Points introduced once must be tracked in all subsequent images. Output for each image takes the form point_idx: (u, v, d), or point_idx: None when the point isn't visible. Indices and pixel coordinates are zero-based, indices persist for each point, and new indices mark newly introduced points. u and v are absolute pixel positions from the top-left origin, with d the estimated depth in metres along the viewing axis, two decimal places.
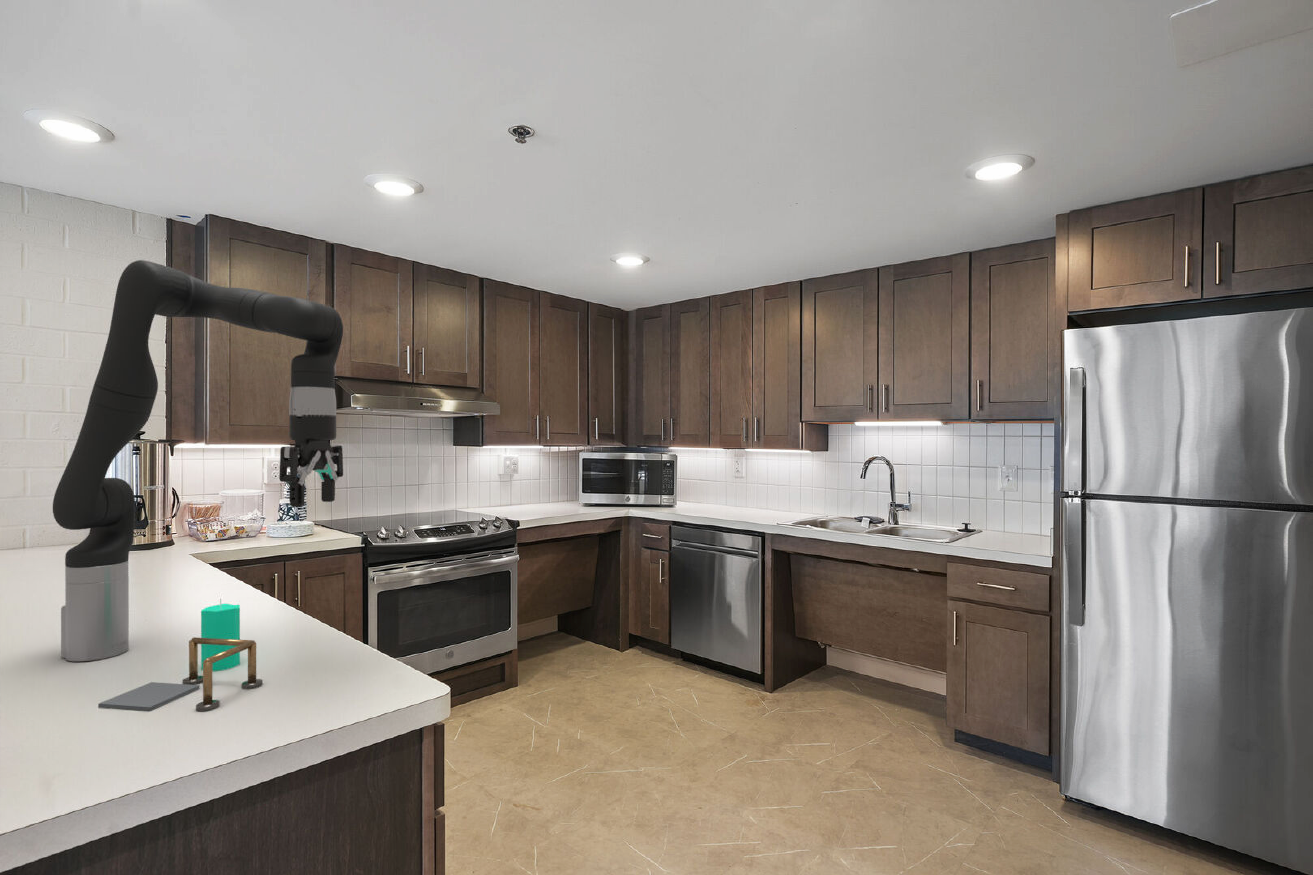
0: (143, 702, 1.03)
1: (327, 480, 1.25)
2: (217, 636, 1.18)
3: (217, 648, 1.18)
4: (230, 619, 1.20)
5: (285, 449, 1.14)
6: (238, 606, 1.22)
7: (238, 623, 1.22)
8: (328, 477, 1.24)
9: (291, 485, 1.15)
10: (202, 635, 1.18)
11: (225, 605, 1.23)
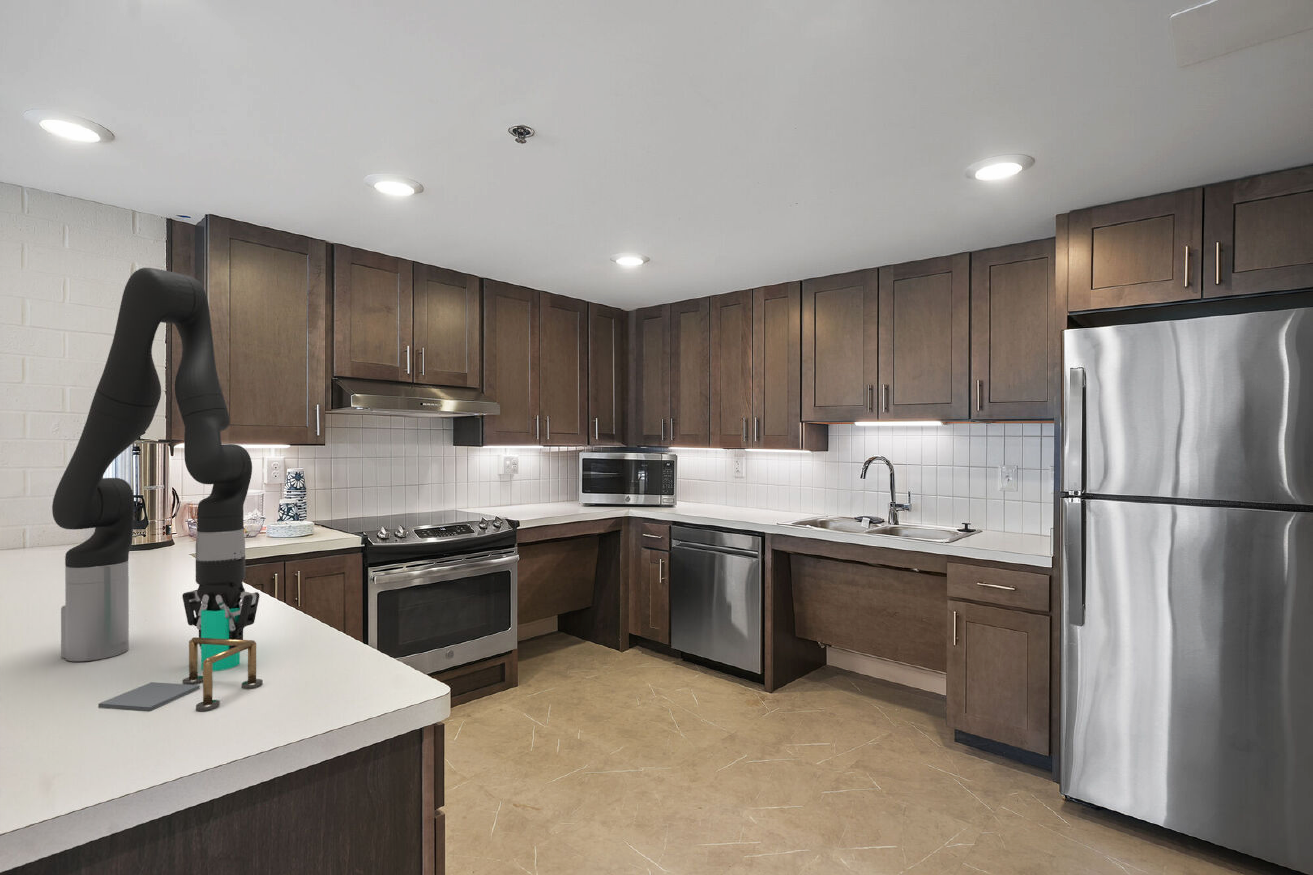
0: (143, 702, 1.03)
1: None
2: (217, 636, 1.18)
3: (217, 648, 1.18)
4: None
5: (253, 597, 1.20)
6: None
7: None
8: None
9: (239, 630, 1.20)
10: (202, 635, 1.18)
11: None
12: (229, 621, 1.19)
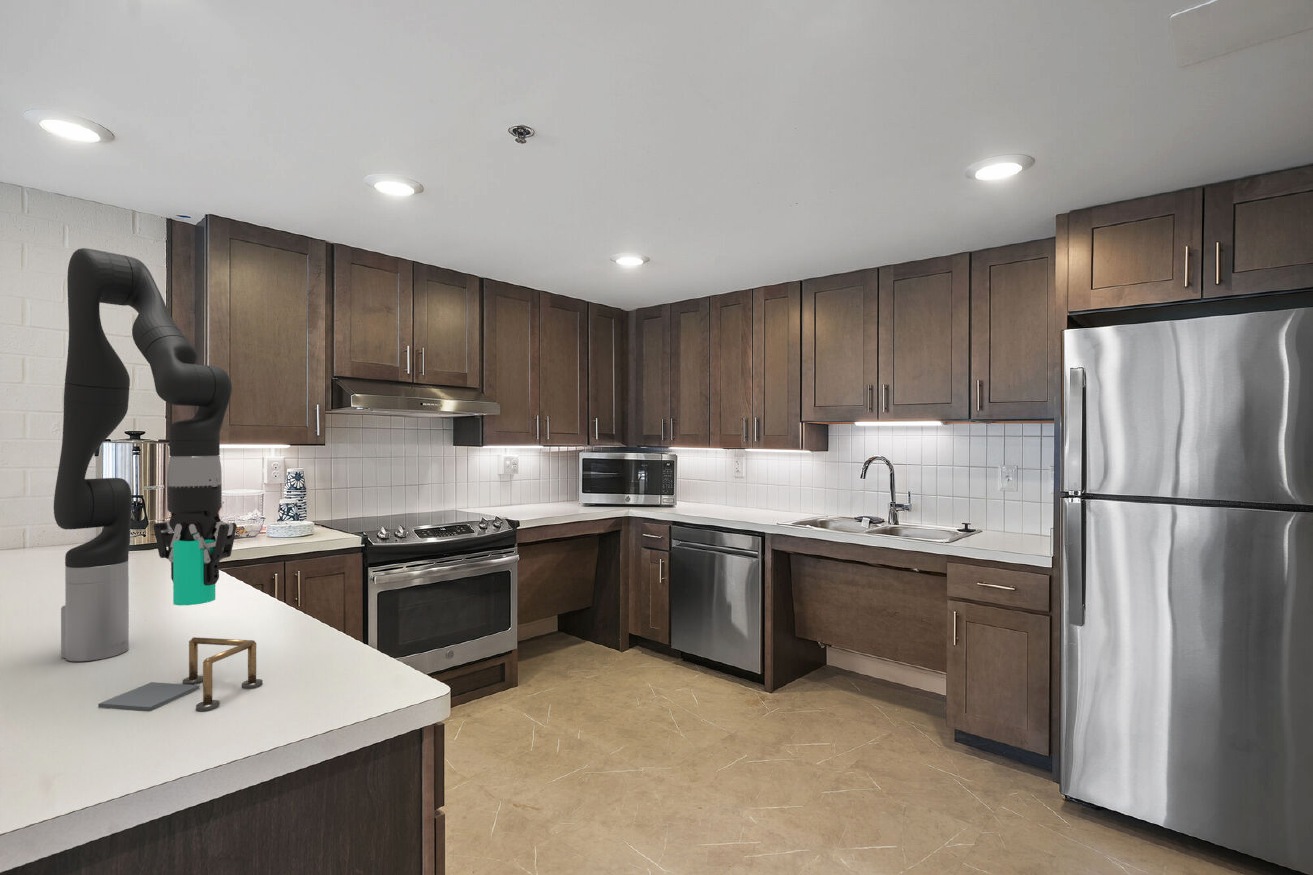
0: (143, 702, 1.03)
1: None
2: (190, 568, 1.10)
3: (191, 581, 1.10)
4: None
5: (229, 527, 1.12)
6: None
7: None
8: None
9: (215, 562, 1.12)
10: (174, 567, 1.11)
11: None
12: (204, 552, 1.11)
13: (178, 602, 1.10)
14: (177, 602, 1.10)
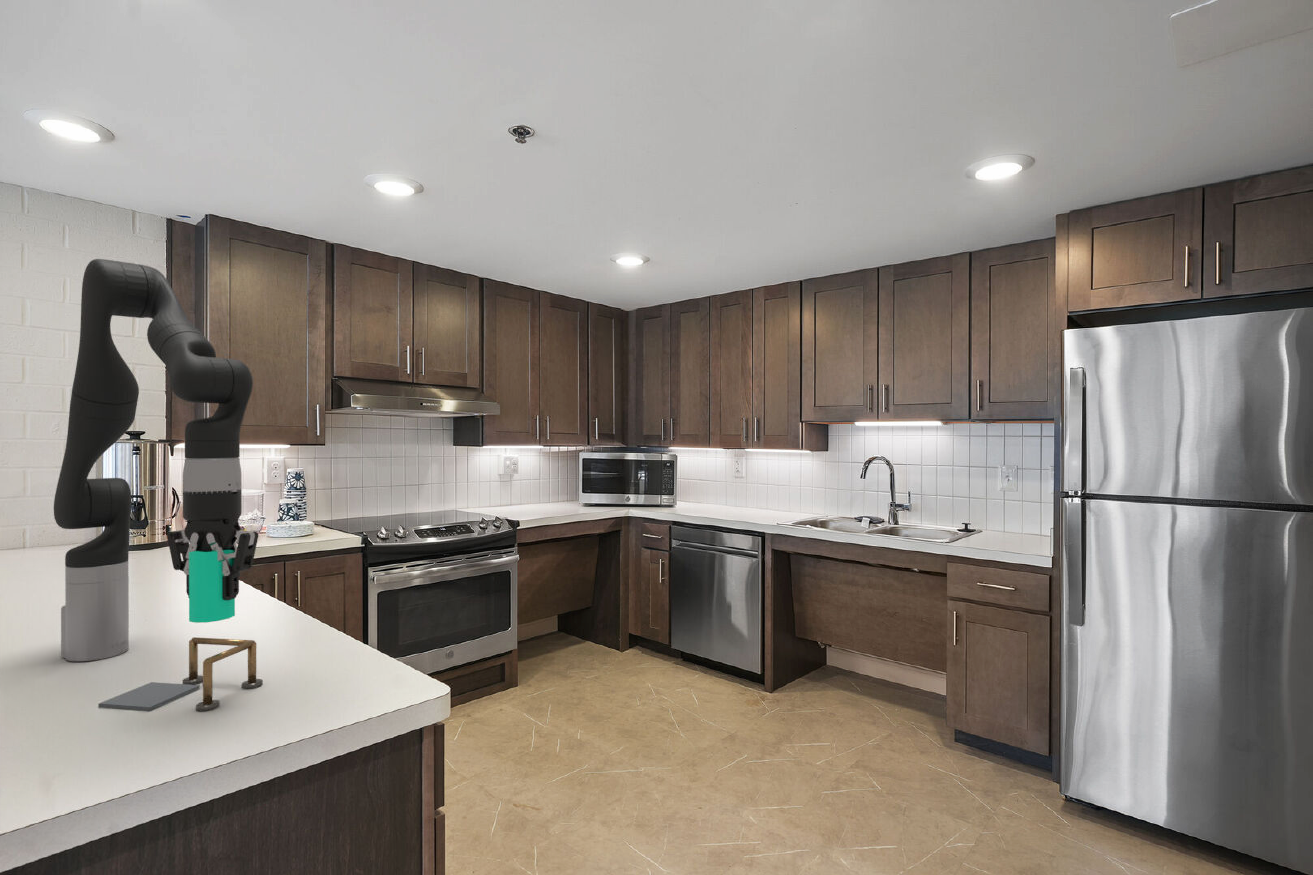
0: (143, 702, 1.03)
1: None
2: (208, 582, 1.00)
3: (208, 596, 1.00)
4: None
5: (250, 536, 1.02)
6: None
7: None
8: None
9: (234, 575, 1.02)
10: (190, 580, 1.00)
11: None
12: (222, 564, 1.01)
13: (194, 619, 1.00)
14: (193, 619, 1.00)
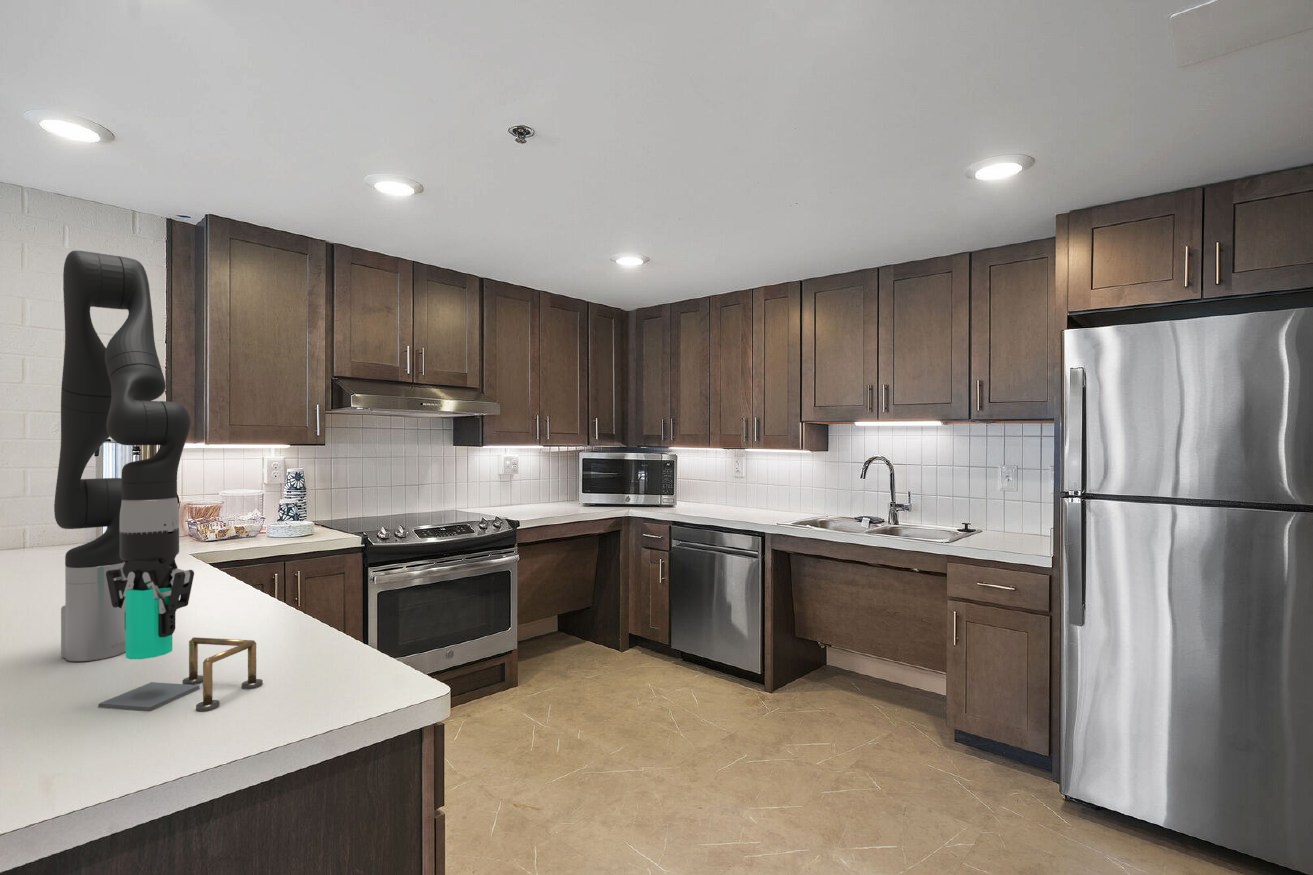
0: (143, 702, 1.03)
1: None
2: (144, 620, 1.03)
3: (144, 633, 1.03)
4: None
5: (185, 575, 1.05)
6: None
7: None
8: None
9: (170, 612, 1.05)
10: (126, 618, 1.03)
11: None
12: (158, 602, 1.04)
13: (130, 656, 1.03)
14: (129, 656, 1.03)
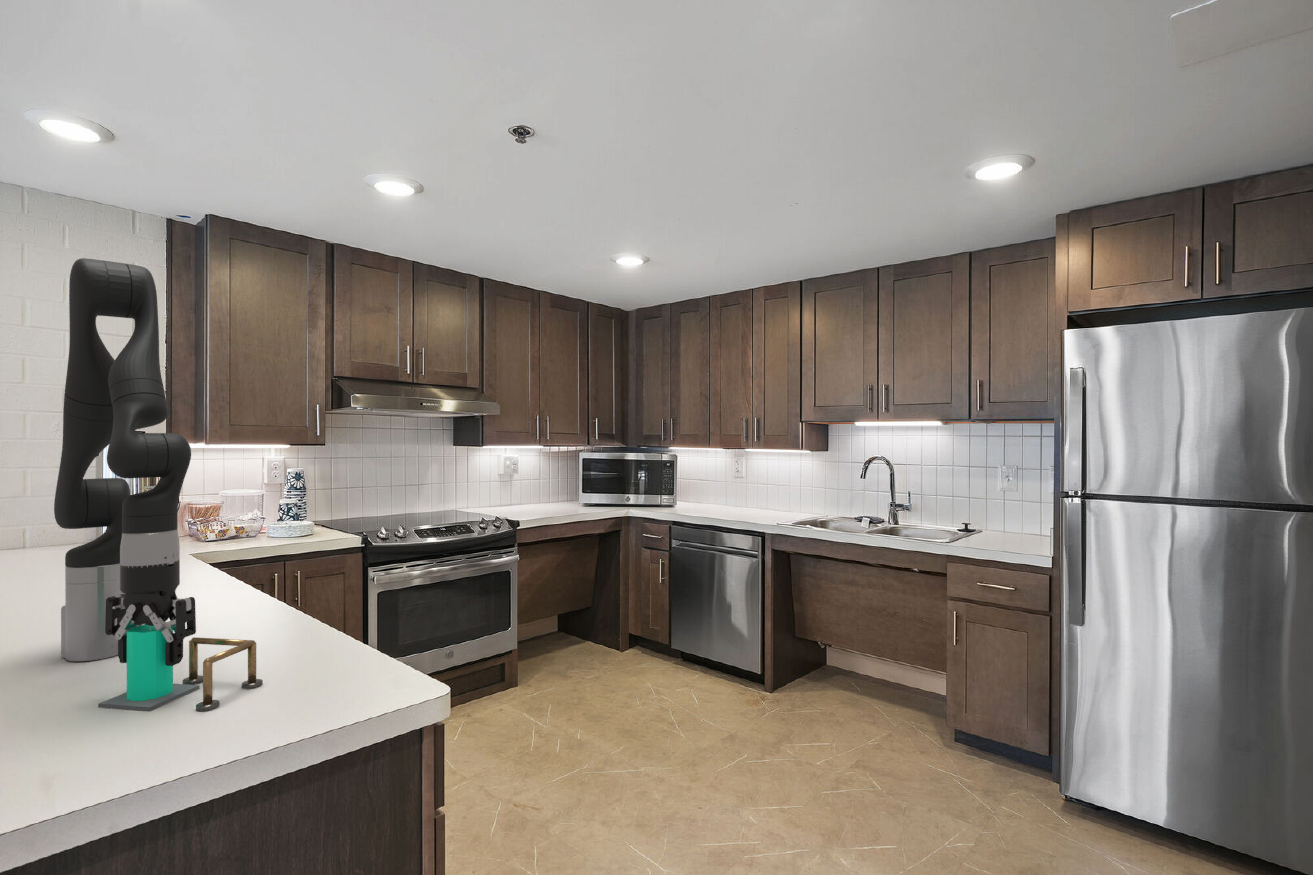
0: (143, 702, 1.03)
1: None
2: (145, 661, 1.03)
3: (145, 675, 1.03)
4: (161, 640, 1.05)
5: (186, 602, 1.05)
6: None
7: None
8: None
9: (178, 641, 1.05)
10: (128, 659, 1.04)
11: None
12: (164, 632, 1.04)
13: (132, 697, 1.03)
14: (131, 697, 1.03)
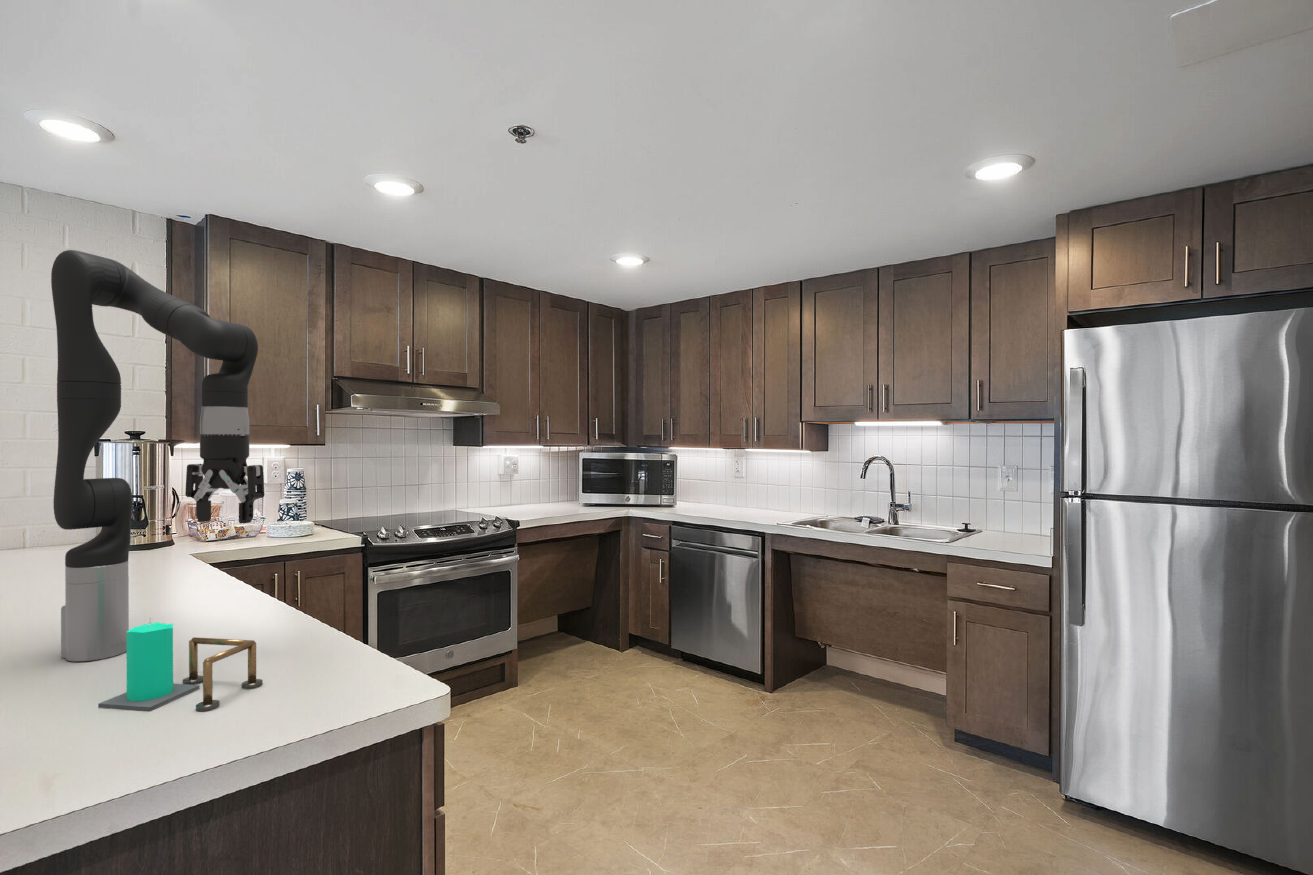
0: (143, 702, 1.03)
1: (204, 499, 1.22)
2: (145, 661, 1.03)
3: (145, 675, 1.03)
4: (161, 640, 1.05)
5: (256, 468, 1.20)
6: (171, 625, 1.08)
7: (171, 645, 1.07)
8: (205, 496, 1.22)
9: (249, 502, 1.20)
10: (128, 660, 1.04)
11: (156, 624, 1.08)
12: (238, 493, 1.19)
13: (132, 697, 1.03)
14: (130, 697, 1.03)
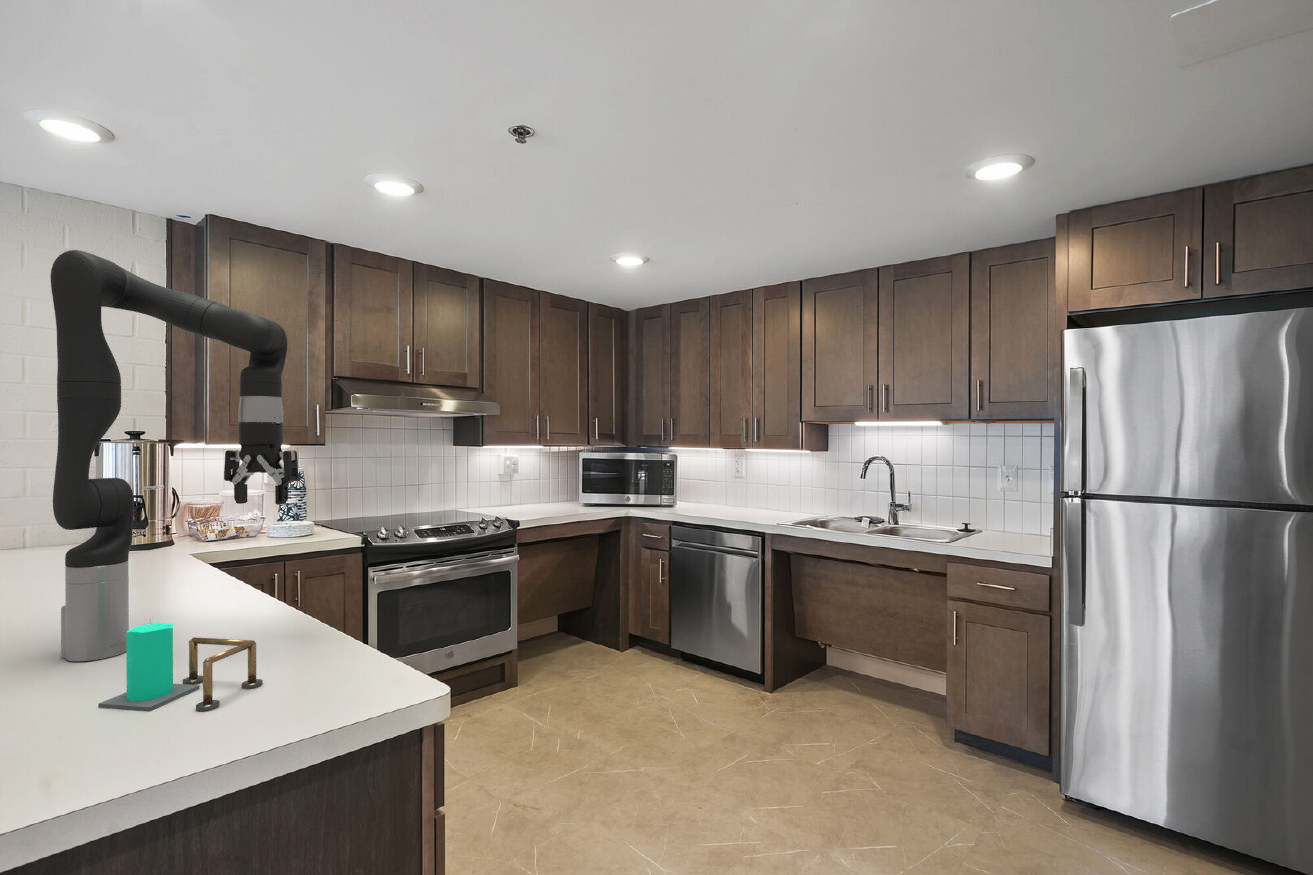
0: (143, 702, 1.03)
1: (242, 483, 1.31)
2: (145, 661, 1.03)
3: (145, 675, 1.03)
4: (161, 640, 1.05)
5: (291, 453, 1.29)
6: (171, 625, 1.08)
7: (171, 645, 1.07)
8: (242, 480, 1.32)
9: (285, 485, 1.30)
10: (128, 660, 1.04)
11: (156, 624, 1.08)
12: (274, 477, 1.29)
13: (132, 697, 1.03)
14: (130, 697, 1.03)
